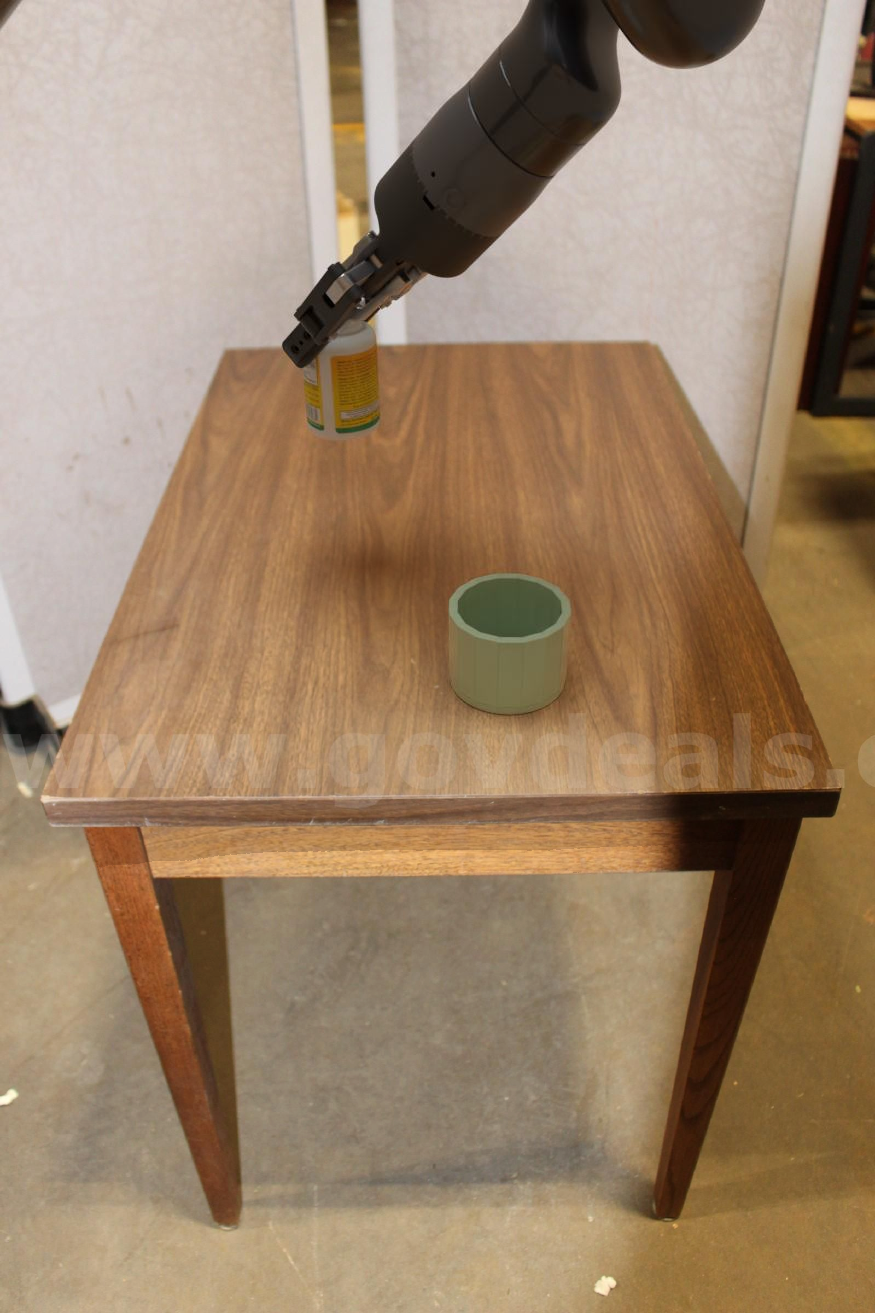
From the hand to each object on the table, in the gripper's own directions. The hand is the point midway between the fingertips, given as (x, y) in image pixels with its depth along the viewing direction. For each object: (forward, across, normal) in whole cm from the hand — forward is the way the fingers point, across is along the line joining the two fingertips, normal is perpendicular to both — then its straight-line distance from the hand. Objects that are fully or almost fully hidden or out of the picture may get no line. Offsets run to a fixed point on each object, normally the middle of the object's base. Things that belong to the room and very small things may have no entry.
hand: (317, 341), depth 76 cm
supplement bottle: (+3, 0, +6) cm, 7 cm away
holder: (-1, +8, +26) cm, 27 cm away
